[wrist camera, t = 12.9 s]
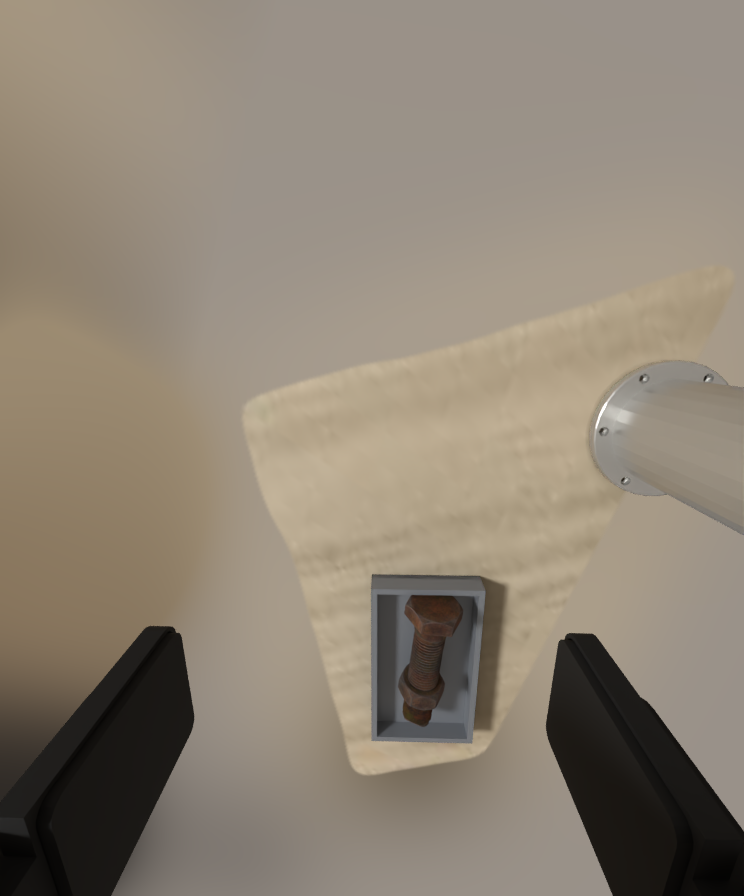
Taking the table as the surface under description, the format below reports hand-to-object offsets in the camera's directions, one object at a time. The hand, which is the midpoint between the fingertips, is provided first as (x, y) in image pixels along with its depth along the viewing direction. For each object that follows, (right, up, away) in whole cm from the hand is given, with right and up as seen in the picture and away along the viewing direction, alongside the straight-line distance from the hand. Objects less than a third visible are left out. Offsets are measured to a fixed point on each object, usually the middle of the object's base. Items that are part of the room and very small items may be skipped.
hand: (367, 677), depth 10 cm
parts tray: (+6, -18, +34) cm, 39 cm away
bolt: (+6, -16, +33) cm, 37 cm away
